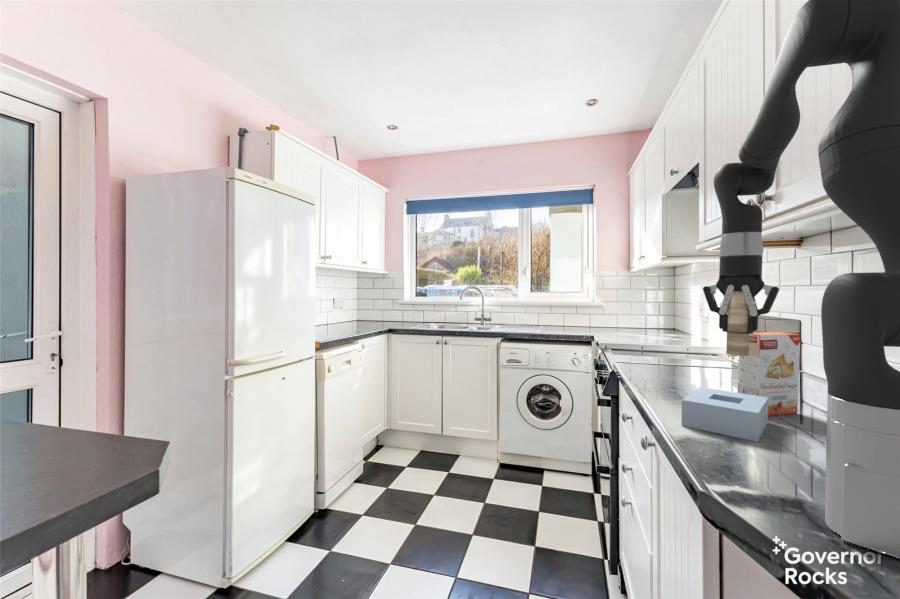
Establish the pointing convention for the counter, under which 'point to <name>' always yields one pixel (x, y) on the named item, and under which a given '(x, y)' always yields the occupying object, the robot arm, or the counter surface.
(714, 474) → the counter surface
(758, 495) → the counter surface
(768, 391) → the cracker box
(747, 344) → the peg
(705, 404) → the socket block
